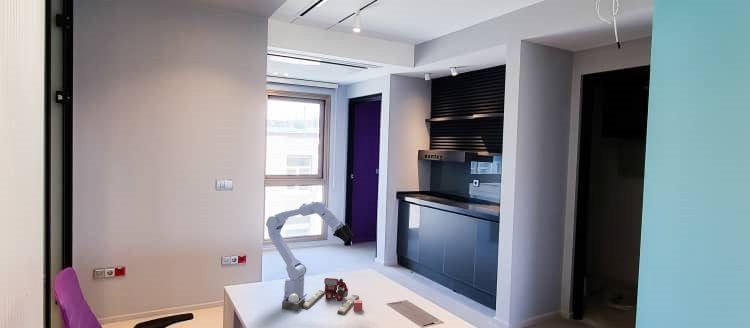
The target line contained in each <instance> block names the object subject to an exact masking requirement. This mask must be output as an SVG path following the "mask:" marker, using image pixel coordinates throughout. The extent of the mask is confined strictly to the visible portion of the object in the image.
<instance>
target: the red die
mask: <svg viewBox="0 0 750 328" xmlns="http://www.w3.org/2000/svg"><path fill="white" fill-rule="evenodd" d="M352 306H353V312H363V299H357V300H354V304H353V305H352Z"/></svg>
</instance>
